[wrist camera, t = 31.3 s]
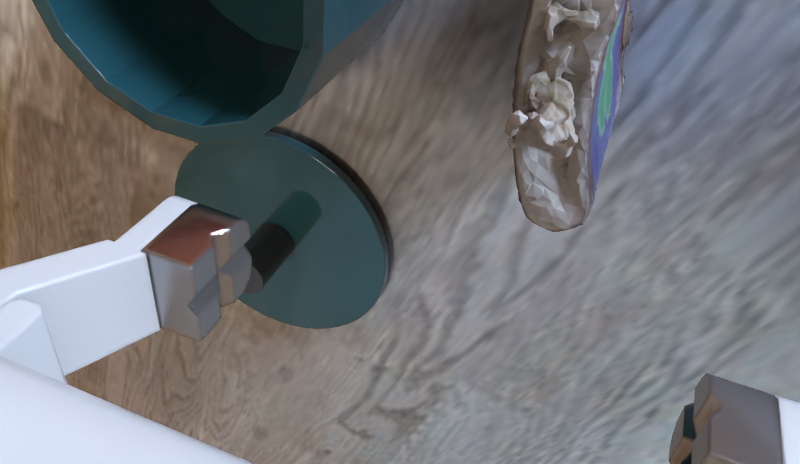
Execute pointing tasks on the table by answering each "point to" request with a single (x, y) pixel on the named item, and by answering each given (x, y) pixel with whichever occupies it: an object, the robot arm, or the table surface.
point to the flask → (566, 105)
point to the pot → (213, 56)
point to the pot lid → (294, 227)
